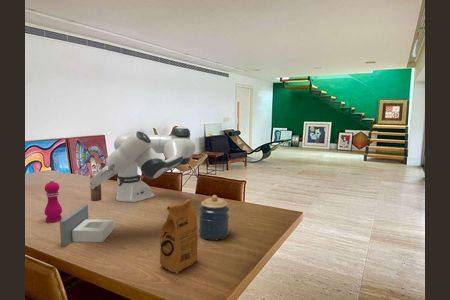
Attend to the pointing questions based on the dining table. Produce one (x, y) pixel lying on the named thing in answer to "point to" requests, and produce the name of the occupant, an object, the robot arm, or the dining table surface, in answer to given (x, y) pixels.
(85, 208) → the slate backstop wall
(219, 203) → the canister
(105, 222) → the white socket block
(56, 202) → the pepper mill
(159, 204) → the dining table surface
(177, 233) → the coffee package
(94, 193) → the walnut dowel
